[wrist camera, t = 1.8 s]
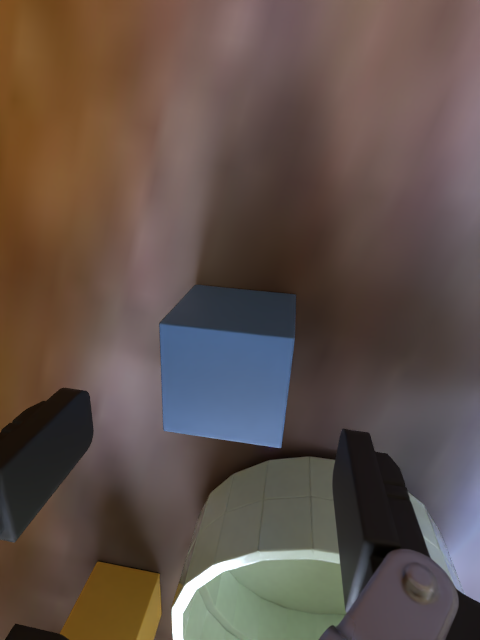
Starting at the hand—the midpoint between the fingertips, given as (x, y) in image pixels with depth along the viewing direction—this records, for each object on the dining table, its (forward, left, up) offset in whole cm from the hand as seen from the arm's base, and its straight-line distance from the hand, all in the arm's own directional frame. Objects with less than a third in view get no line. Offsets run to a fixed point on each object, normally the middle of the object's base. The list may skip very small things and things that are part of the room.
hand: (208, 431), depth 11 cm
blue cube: (0, 0, -7) cm, 7 cm away
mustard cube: (+21, -7, -7) cm, 23 cm away
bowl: (+13, +5, -7) cm, 15 cm away
